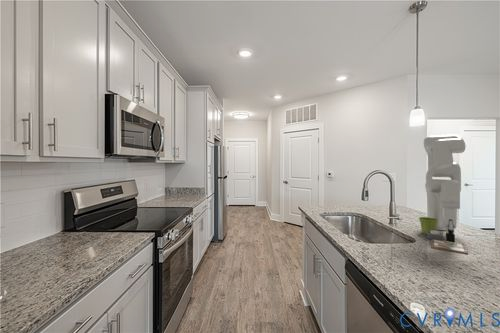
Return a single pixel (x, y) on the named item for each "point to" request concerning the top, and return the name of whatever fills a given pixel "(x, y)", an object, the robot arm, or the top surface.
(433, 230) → the button cap
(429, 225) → the plant pot
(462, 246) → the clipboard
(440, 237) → the button box
